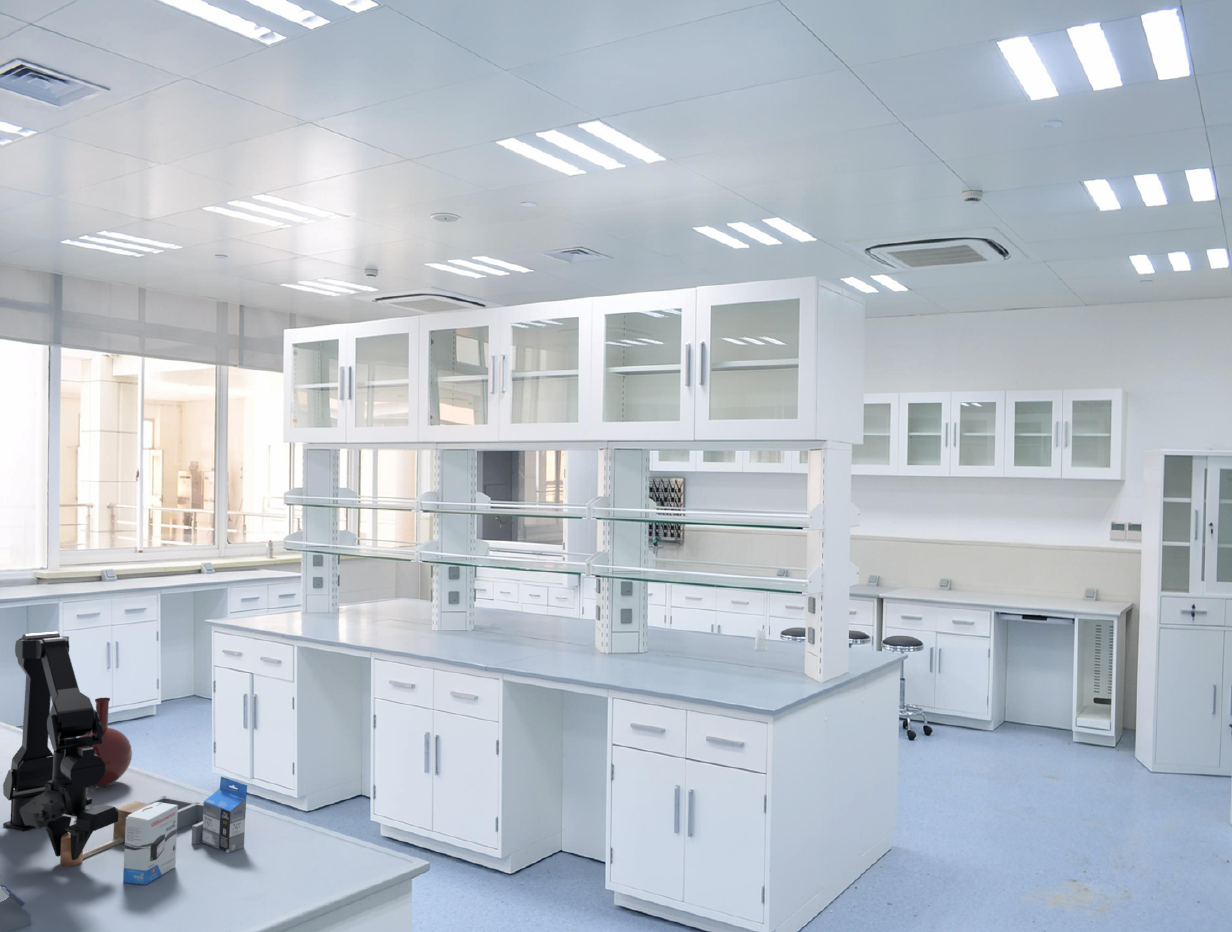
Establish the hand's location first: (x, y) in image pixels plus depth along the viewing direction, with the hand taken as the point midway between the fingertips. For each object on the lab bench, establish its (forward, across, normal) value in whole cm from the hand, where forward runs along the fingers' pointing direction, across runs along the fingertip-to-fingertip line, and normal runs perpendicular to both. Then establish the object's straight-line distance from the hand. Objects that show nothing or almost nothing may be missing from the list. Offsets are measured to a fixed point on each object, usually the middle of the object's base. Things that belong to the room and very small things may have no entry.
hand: (67, 857), depth 174 cm
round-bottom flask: (+2, -31, +34) cm, 46 cm away
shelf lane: (+1, +5, +22) cm, 23 cm away
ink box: (+2, +17, +3) cm, 17 cm away
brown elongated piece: (+1, 0, +8) cm, 8 cm away
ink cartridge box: (+2, +19, +19) cm, 27 cm away
